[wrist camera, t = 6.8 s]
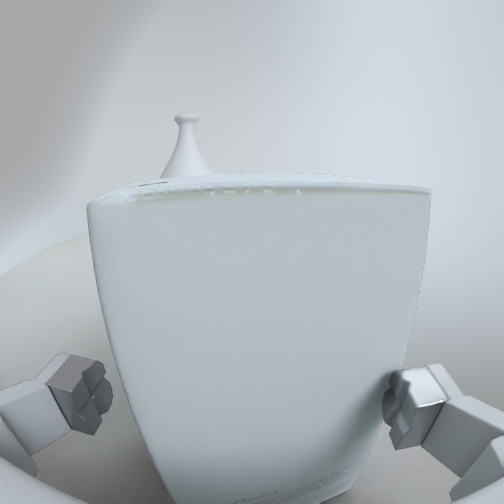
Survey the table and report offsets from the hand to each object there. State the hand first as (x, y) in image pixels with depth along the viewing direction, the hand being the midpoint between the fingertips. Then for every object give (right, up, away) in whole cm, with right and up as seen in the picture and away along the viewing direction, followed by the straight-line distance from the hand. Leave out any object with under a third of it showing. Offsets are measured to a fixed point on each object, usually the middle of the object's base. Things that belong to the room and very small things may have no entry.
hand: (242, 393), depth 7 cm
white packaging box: (0, -6, +4) cm, 8 cm away
